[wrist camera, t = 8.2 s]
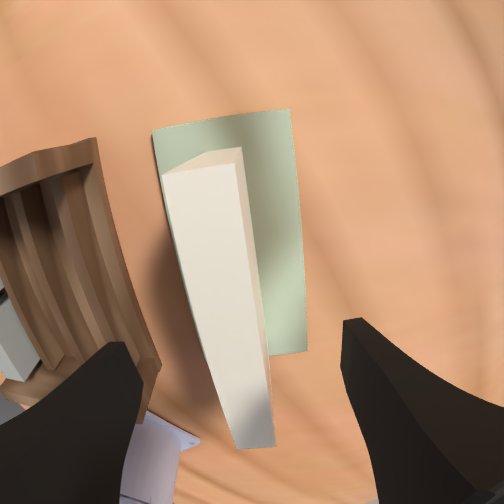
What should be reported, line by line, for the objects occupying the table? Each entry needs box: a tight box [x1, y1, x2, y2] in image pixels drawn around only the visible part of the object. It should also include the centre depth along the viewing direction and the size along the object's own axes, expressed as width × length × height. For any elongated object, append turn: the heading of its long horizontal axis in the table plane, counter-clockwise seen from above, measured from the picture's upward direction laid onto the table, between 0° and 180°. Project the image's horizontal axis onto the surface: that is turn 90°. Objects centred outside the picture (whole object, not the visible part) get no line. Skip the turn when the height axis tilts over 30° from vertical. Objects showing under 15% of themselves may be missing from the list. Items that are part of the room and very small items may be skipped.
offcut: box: [0, 292, 41, 382], centre depth 16 cm, size 2×5×4 cm, turn 7°
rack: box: [0, 109, 308, 424], centre depth 15 cm, size 24×16×6 cm, turn 97°
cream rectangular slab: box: [162, 147, 276, 449], centre depth 13 cm, size 2×12×8 cm, turn 7°
